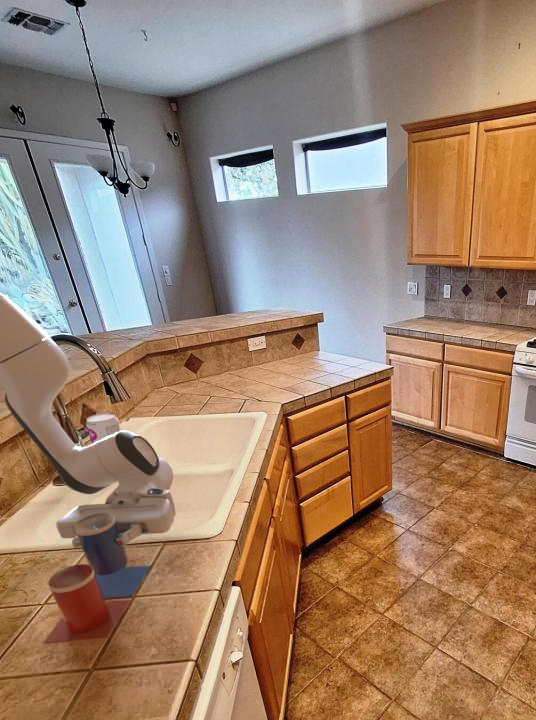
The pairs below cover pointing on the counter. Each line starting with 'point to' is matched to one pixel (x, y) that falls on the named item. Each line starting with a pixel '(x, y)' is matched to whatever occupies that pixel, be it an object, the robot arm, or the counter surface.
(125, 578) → the slate-blue mat
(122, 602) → the terracotta mat
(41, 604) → the counter surface
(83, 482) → the robot arm
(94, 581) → the red tumbler
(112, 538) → the blue tumbler
